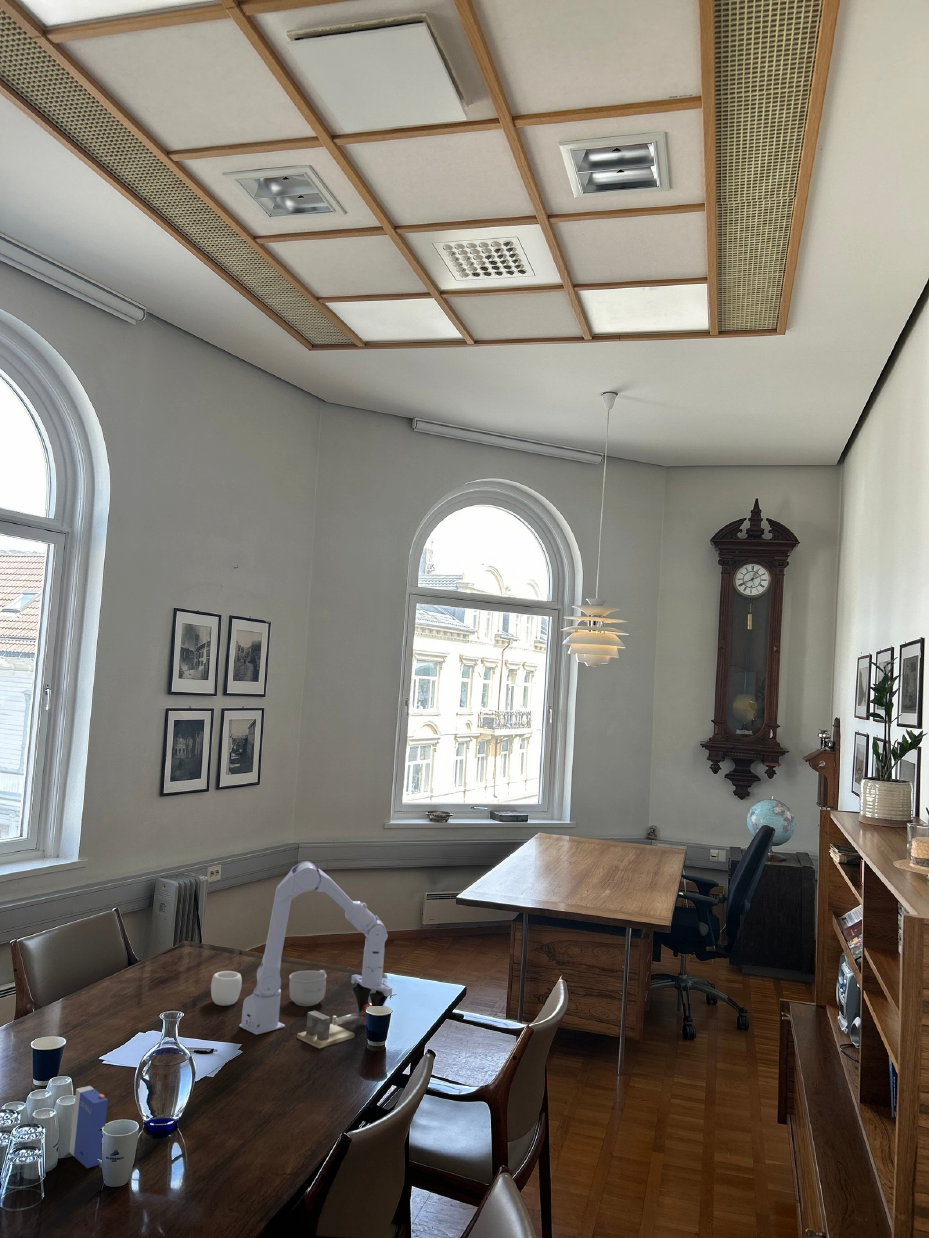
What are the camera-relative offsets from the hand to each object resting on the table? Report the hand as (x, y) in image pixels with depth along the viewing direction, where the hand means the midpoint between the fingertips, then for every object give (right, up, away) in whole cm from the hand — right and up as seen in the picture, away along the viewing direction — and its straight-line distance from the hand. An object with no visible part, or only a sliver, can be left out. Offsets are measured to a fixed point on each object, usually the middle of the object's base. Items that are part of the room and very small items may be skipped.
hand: (369, 1015), depth 248 cm
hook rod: (-4, -1, -5) cm, 6 cm away
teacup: (-19, -3, +15) cm, 24 cm away
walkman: (-45, +8, -79) cm, 91 cm away
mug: (-43, -1, +11) cm, 44 cm away
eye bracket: (-11, -1, -12) cm, 16 cm away
